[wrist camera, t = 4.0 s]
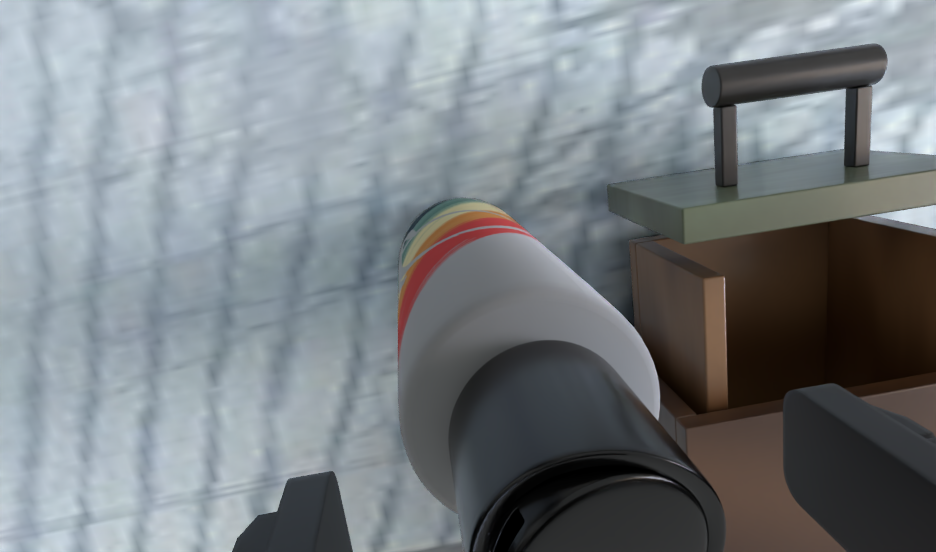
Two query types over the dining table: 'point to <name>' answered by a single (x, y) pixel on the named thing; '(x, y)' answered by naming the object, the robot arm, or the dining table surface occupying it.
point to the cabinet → (772, 461)
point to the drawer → (785, 250)
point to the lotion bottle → (535, 399)
